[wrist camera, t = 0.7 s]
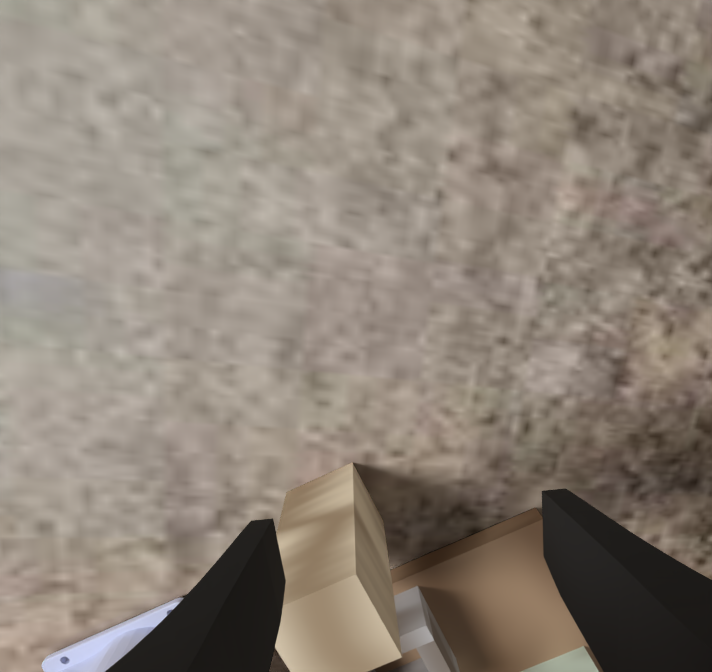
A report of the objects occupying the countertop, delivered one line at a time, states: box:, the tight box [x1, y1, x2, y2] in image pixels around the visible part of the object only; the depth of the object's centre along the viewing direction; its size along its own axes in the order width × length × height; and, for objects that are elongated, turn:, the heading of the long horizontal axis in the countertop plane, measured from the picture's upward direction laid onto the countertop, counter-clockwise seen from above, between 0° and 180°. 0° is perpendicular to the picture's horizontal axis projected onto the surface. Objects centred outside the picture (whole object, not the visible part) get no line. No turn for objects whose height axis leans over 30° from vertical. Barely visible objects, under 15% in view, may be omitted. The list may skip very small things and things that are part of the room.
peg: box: [275, 462, 402, 672], centre depth 19 cm, size 4×4×8 cm
